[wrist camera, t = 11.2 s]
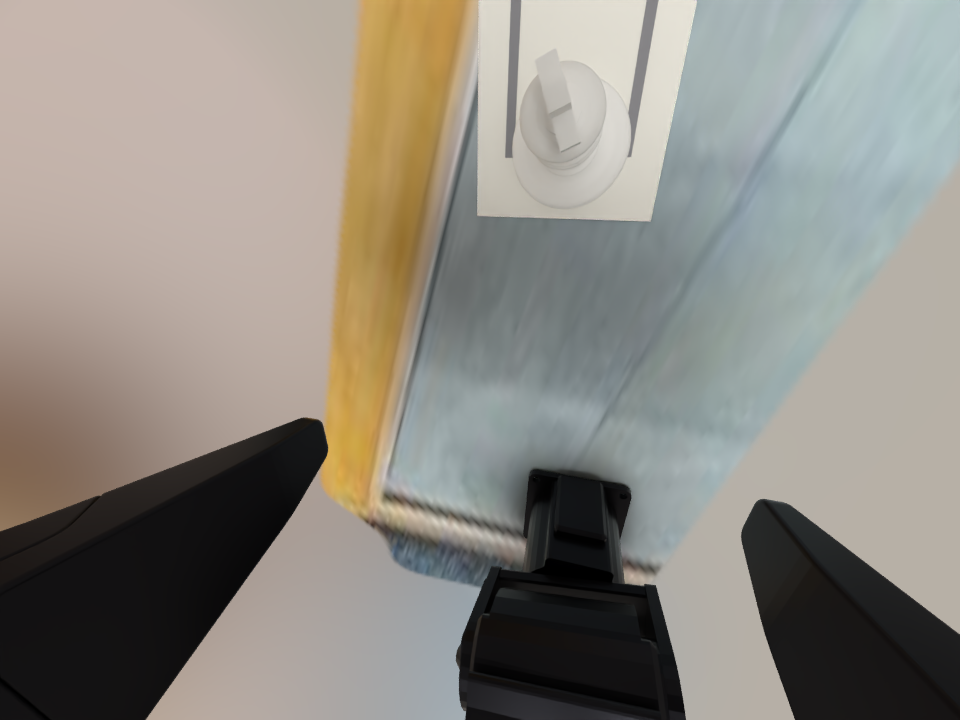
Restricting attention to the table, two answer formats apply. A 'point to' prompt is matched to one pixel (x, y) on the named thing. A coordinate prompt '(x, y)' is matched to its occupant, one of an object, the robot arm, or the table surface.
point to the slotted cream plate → (615, 59)
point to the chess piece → (569, 134)
